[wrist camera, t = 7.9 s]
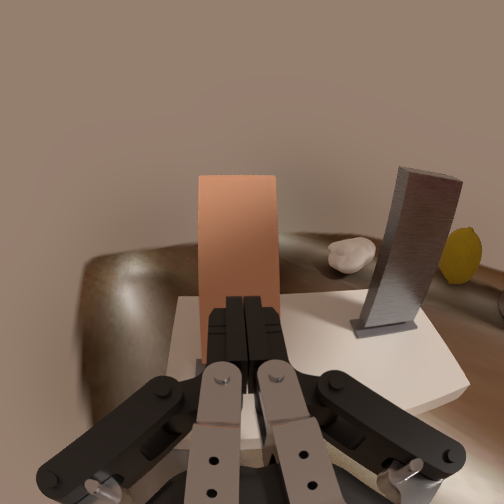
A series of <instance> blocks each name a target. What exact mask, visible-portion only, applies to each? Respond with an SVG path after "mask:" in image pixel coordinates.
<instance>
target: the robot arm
mask: <svg viewBox="0 0 504 504" xmlns="http://www.w3.org/2000/svg"><path fill="white" fill-rule="evenodd" d="M499 309H500V311H501V313H502V315H503V317H504V291H503V293H502V295H501V297H500V299H499ZM247 387H248V394H254V401H255V405H254V412H255V417H256V422H257V427H258V432H259V437H260V442H261V447H262V459H263V465H264V467H262V468H251V467H245V466H240V442H241V411H242V408H243V394H246V392H247ZM191 430H192V435H191V443H190V451H189V460H188V469H187V471H184V472H182V473H180V474H178V475H176V476H174V477H173V478H172V479H170V480H169V481H168V482H167V483H166V484H165V485H164V486H163V487H162V488H161V489H160V490H159V491H158V492H157V493H156V494H155V495H154V496H153V497H152V498H151V499H150V500H149V501H147V502H146V503H145V504H430V502H431V501H432V499H433V497H434V496H435V494H436V492H437V490H438V489H439V487H440V485H441V483H442V481H443V480H444V479H446V478H447V477H449V476H451V475H453V474H454V473H456V472H458V471H459V470H460V469H461V468H462V467H463V466H464V464H465V461H466V452H465V449H464V447H463V446H462V445H461V444H460V443H459V442H457V441H455V440H454V439H452V438H450V437H448V436H447V435H445V434H443V433H441V432H440V431H438V430H436V429H435V428H433V427H431V426H429V425H428V424H426V423H424V422H423V421H421V420H419V419H418V418H416V417H414V416H413V415H411V414H409V413H408V412H406V411H405V410H403V409H401V408H400V407H398V406H396V405H395V404H393V403H392V402H390V401H388V400H387V399H385V398H384V397H382V396H381V395H379V394H377V393H376V392H374V391H373V390H371V389H370V388H368V387H367V386H365V385H364V384H362V383H360V382H359V381H357V380H356V379H354V378H353V377H351V376H350V375H348V374H347V373H345V372H343V371H340V370H329V371H326V372H324V373H323V374H322V375H321V376H314V375H308V374H304V373H301V372H299V371H297V370H296V369H295V368H294V367H293V366H292V365H291V364H290V362H289V359H288V354H287V349H286V345H285V340H284V336H283V332H282V326H281V322H280V317H279V314H278V313H277V312H276V311H275V309H274V308H273V307H262V303H261V297H260V296H243V298H242V296H226V308H214V309H213V310H212V312H211V313H210V315H209V319H208V339H207V362H206V366H205V368H204V370H203V371H202V373H200V374H199V375H198V376H196V377H194V378H191V379H188V380H184V381H180V382H179V381H177V380H176V379H175V378H173V377H170V376H158V377H155V378H153V379H151V380H150V381H149V382H147V383H146V384H145V385H144V386H143V387H141V388H140V389H139V390H138V391H137V392H135V393H134V394H133V395H132V396H130V397H129V398H128V399H127V400H126V401H124V402H123V403H122V404H121V405H119V406H118V407H117V408H116V409H114V410H113V411H112V412H111V413H109V414H108V415H107V416H106V417H104V418H103V419H102V420H101V421H99V422H98V423H97V424H96V425H94V426H93V427H92V428H91V429H89V430H88V431H87V432H85V433H84V434H83V435H82V436H80V437H79V438H78V439H76V440H75V441H74V442H73V443H71V444H70V445H69V446H67V447H66V448H65V449H63V450H62V451H61V452H60V453H58V454H57V455H55V456H54V457H53V458H52V459H50V460H49V461H48V462H46V463H45V464H43V465H42V466H41V467H40V468H39V469H38V471H37V474H36V482H37V485H38V487H39V489H40V490H41V492H42V493H43V494H44V495H45V496H47V497H48V498H50V499H53V500H55V501H57V502H59V503H60V504H132V496H131V494H130V492H129V490H128V489H129V488H130V487H131V486H132V485H134V484H135V483H136V482H137V481H138V480H139V479H140V478H142V477H143V476H144V475H145V474H146V473H147V472H148V471H150V470H151V469H152V468H153V467H154V466H155V465H156V464H157V463H158V462H159V461H161V460H162V459H163V458H164V457H165V456H166V455H167V454H168V453H169V452H170V451H171V450H172V449H173V448H174V447H175V446H176V445H177V444H178V443H180V442H181V441H182V440H183V439H184V438H185V437H186V436H187V435H188V434H189V433H190V431H191ZM324 439H325V440H326V441H328V442H329V443H330V444H332V445H333V446H335V447H336V448H337V449H339V450H340V451H342V452H343V453H344V454H346V455H347V456H349V457H350V458H352V459H353V460H355V461H356V462H358V463H359V464H361V465H362V466H364V467H365V468H367V469H368V470H370V471H372V472H373V473H375V474H376V475H378V476H377V486H378V488H379V490H380V491H381V492H382V493H383V494H385V496H386V497H387V498H385V497H384V496H382V495H381V494H379V493H378V492H376V491H375V490H373V489H372V488H370V487H369V486H367V485H366V484H364V483H363V482H361V481H360V480H359V479H357V478H356V477H354V476H353V475H352V474H350V473H349V472H348V471H346V470H345V469H343V468H341V467H339V466H337V465H335V464H332V463H331V460H330V457H329V454H328V451H327V448H326V445H325V442H324Z"/></svg>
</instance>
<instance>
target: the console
mask: <svg viewBox="0 0 504 504" xmlns="http://www.w3.org/2000/svg"><path fill="white" fill-rule="evenodd" d="M368 290H369V289H364V290H350V291H335V292H318V293H298V294H280V322H281V326H282V332H283V336H284V340H285V345H286V349H287V354H288V359H289V362H290V364H291V365H292V366H293V367H294V368H295V369H296V370H297V371H299V372H301V373H304V374H308V375H314V376H321V375H322V374H323V373H324V372H326V371H329V370H340V371H343V372H345V373H347V374H348V375H350V376H351V377H353V378H354V379H356V380H357V381H359V382H360V383H362V384H364V385H365V386H367V387H368V388H370V389H371V390H373V391H374V392H376V393H377V394H379V395H381V396H382V397H384V398H385V399H387V400H388V401H390V402H392V403H393V404H395V405H396V406H398V407H400V408H401V409H403V410H405V411H406V412H408V413H409V414H411V415H413V416H416V415H419V414H421V413H424V412H427V411H429V410H432V409H434V408H437V407H439V406H442V405H444V404H446V403H449V402H451V401H453V400H455V399H457V398H458V397H459V396H460V395H461V394H462V393H463V392H464V391H465V390H466V389H467V387H468V386H469V385H470V383H469V381H468V380H467V378H466V376H465V374H464V373H463V371H462V369H461V368H460V366H459V365H458V363H457V361H456V360H455V358H454V357H453V355H452V353H451V352H450V350H449V349H448V347H447V346H446V344H445V343H444V341H443V340H442V338H441V337H440V335H439V334H438V332H437V331H436V329H435V328H434V326H433V325H432V323H431V322H430V320H429V319H428V318H427V316H426V315H425V313H424V312H423V311H422V309H421V308H420V309H419V311H418V313H417V315H416V317H415V319H414V320H411V321H405V322H398V323H392V324H386V325H379V326H371V327H364V326H363V324H362V322H361V320H360V318H359V316H360V313H361V310H362V308H363V305H364V302H365V299H366V296H367V293H368ZM205 366H206V364H202V355H201V337H200V314H199V296H178V302H177V307H176V313H175V319H174V325H173V331H172V337H171V344H170V350H169V357H168V364H167V371H166V376H170V377H173V378H175V379H176V380H177V381H179V382H180V381H184V380H188V379H191V378H194V377H196V376H198V375H199V374H200V373H202V371H203V370H204V368H205ZM254 405H255V401H254V394H248V387H247V392H246V394H243V408H242V411H241V442H240V450H247V449H262V447H261V442H260V437H259V432H258V427H257V422H256V417H255V412H254ZM191 435H192V430H191V431H190V433H189V434H188V435H187V436H186V437H185V438H184V439H183V440H182V441H181V442H180V443H178V444H177V445H176V446H175V447H174V448H173V449H183V450H190V443H191ZM324 440H325V439H324Z"/></svg>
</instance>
